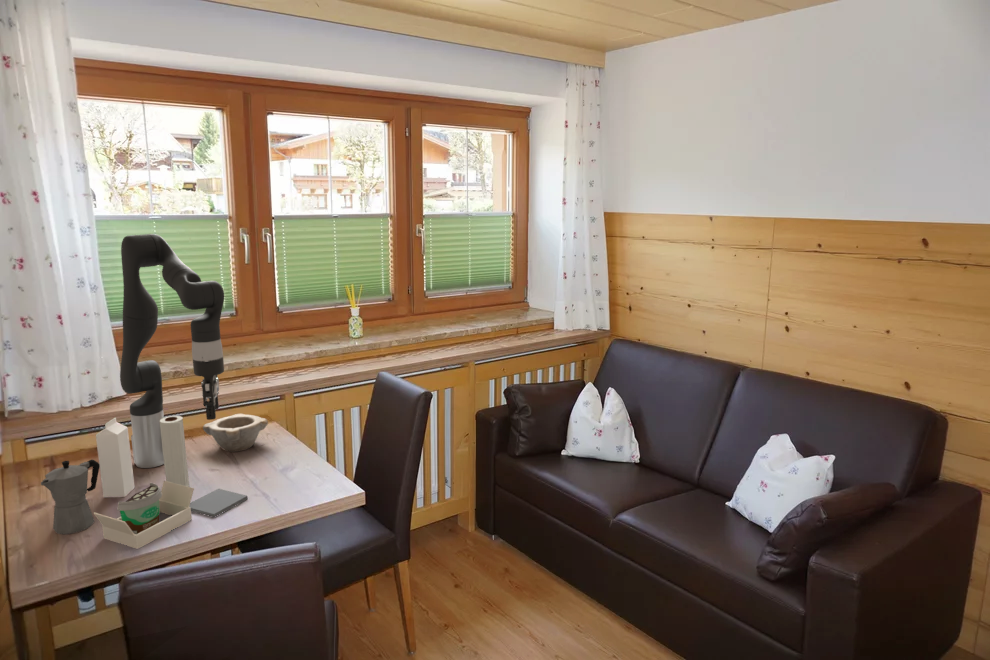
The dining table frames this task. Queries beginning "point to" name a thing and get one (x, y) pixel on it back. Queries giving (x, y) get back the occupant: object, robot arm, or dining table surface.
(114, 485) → the milk
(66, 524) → the coffeepot
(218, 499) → the trivet
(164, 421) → the paper towel roll
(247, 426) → the mortar
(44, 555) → the dining table surface
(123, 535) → the carton
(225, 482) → the dining table surface
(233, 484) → the dining table surface
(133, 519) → the food container
